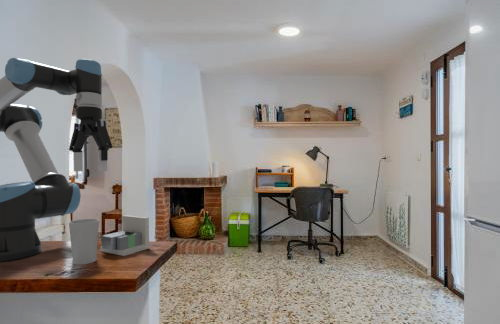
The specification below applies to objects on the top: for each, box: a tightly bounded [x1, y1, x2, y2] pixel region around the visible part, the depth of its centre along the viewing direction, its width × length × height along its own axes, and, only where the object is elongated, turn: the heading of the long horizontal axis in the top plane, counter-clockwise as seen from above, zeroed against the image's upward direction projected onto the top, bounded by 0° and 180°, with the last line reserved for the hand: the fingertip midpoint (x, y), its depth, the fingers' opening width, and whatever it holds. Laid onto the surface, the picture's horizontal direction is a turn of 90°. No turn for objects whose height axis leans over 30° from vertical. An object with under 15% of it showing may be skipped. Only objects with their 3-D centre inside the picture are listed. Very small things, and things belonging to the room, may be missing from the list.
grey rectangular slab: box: [101, 230, 134, 250], centre depth 101 cm, size 8×8×5 cm
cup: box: [68, 218, 100, 266], centre depth 92 cm, size 8×8×12 cm
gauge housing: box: [100, 214, 150, 257], centre depth 104 cm, size 12×10×10 cm
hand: (90, 171), depth 102 cm, fingers open, 13 cm apart
